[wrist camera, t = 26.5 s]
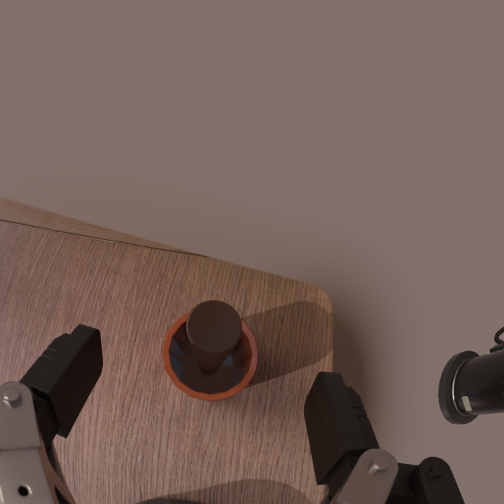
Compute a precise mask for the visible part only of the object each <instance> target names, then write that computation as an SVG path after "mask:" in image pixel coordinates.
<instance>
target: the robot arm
mask: <svg viewBox="0 0 504 504" xmlns="http://www.w3.org/2000/svg"><path fill="white" fill-rule="evenodd" d="M503 332H504V327H503V328H501V329H500V330H499V331H498V332H497V333H496V335H495V338H494V340H495V342H496V343H497V344H498V345H496V346H494V347H493V348H491V349H490V353H488V354H485V355H481V356H478V357H474V358H468V359H465V360H463V361H462V362H461V363H460V364H459V365H458V367H457V368H456V370H455V372H454V375H453V378H452V382H451V390H450V394H451V402H452V405H453V408H454V409H455V411H456V412H457V413H458V414H459V415H461V416H471V415H481V414H493V413H502V412H504V342H503V341H502V340H500V339H499V336H500V335H501V334H502V333H503ZM102 368H103V356H102V347H101V336H100V331H99V330H98V329H95V328H92V327H89V326H85V325H82V324H79V325H78V326H77V327H76V328H75V329H74V331H73V332H72V333H71V334H67V333H65V334H63V335H61V336H59V337H57V338H56V339H54V340H53V342H52V343H51V344H50V345H49V346H48V347H47V349H46V350H45V351H44V352H43V353H42V356H40V357H39V358H38V359H37V360H36V362H35V363H34V364H33V365H32V367H31V368H30V369H29V370H28V371H27V373H26V374H25V375H24V376H23V378H22V379H21V380H20V381H19V382H15V381H11V382H6V383H4V384H2V385H1V386H0V502H1V504H76V502H75V500H74V498H73V496H72V494H71V493H70V491H69V489H68V486H67V484H66V481H65V478H64V475H63V472H62V469H61V466H60V463H59V460H58V457H57V453H56V450H55V446H54V443H53V439H54V437H55V436H56V434H57V435H60V436H62V437H64V438H66V439H67V437H68V435H69V433H70V431H71V429H72V427H73V425H74V423H75V421H76V419H77V417H78V415H79V413H80V412H81V410H82V408H83V406H84V404H85V402H86V400H87V399H88V397H89V395H90V393H91V391H92V390H93V388H94V386H95V384H96V382H97V381H98V379H99V377H100V375H101V372H102ZM304 417H305V422H306V427H307V433H308V438H309V444H310V449H311V454H312V460H313V466H314V471H315V477H316V482H317V485H324V484H328V487H329V491H328V492H327V493H326V495H325V496H324V498H323V499H322V501H321V502H320V503H319V504H465V503H464V501H463V498H462V496H461V493H460V491H459V488H458V486H457V483H456V481H455V478H454V476H453V473H452V471H451V469H450V467H449V465H448V464H447V463H446V462H445V461H444V460H442V459H440V458H437V457H428V458H426V459H424V460H423V461H422V462H421V463H420V464H419V465H410V464H402V463H397V461H396V459H395V458H394V457H393V455H392V454H390V453H389V452H387V451H385V450H382V449H380V448H379V445H378V442H377V440H376V437H375V434H374V432H373V429H372V427H371V424H370V421H369V419H368V418H367V414H366V411H365V409H364V406H363V404H362V401H361V399H360V396H359V395H358V394H357V393H356V392H355V391H354V390H353V389H352V387H346V386H345V383H344V380H343V378H342V375H341V374H340V373H332V372H319V373H318V375H317V377H316V379H315V381H314V383H313V385H312V388H311V390H310V392H309V394H308V396H307V398H306V401H305V405H304Z"/></svg>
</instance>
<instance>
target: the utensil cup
mask: <svg viewBox="0 0 504 504" xmlns="http://www.w3.org/2000/svg"><path fill="white" fill-rule="evenodd" d="M189 314H190V312H189V313H187V314H186V315H184V316H182V317H180V318H179V319H178V320H176V322H175V323H174V324H173V326H172V327H171V328H170V330H169V331H168V332H167V334H166V338H165V342H164V346H163V350H162V354H163V360H164V366H165V370H166V372H167V373H168V375H169V377H170V378H171V380H172V381H173V383H174V384H175V385H176V387H178V388H179V389H181V390H182V391H183V392H185V393H186V394H188V395H189V396H191V397H194V398H198V399H202V400H207V401H215V400H221V399H226V398H230V397H232V396H233V395H235V394H236V393H238V392H239V391H241V390H242V389H244V388H245V387H246V386H247V384H248V383H249V381H250V380H251V378H252V377H253V375H254V374H255V372H256V367H257V361H258V356H259V355H258V349H257V345H256V340H255V337H254V335H253V334H252V332H251V331H250V329H249V328H248V326H247V325H246V324H245V322H244V321H242V320H241V323H242V334H241V337H240V340H239V341H238V343H237V344H236V346H235V347H234V349H233V350H232V351H231V352H230V354H229V355H228V356H227V358H226V359H225V360H224V362H223V363H222V364H221V366H220V367H219V368H218V370H216V371H215V372H213V373H206V372H203V371H202V370H201V369H200V368H199V366H198V363H197V361H196V358H195V356H194V353H193V350H192V347H191V345H190V342H189V339H188V336H187V333H186V321H187V318H188V315H189Z"/></svg>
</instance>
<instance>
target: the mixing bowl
mask: <svg viewBox="0 0 504 504" xmlns="http://www.w3.org/2000/svg"><path fill="white" fill-rule="evenodd" d="M137 504H198V503H195V502H190V501H183V500H177V499H151V500H147V501H144V502H140V503H137Z"/></svg>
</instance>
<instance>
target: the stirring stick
mask: <svg viewBox="0 0 504 504" xmlns="http://www.w3.org/2000/svg"><path fill="white" fill-rule="evenodd" d="M186 333H187V336H188V339H189V342H190V345H191V347H192V350H193V353H194V356H195V358H196V361H197V363H198V366H199V368H200V369H201V370H202V371H203V372H206V373H213V372H215V371H216V370H218V368H219V367H220V366H221V364H222V363H223V362H224V360H225V359H226V358H227V356H228V355H229V354H230V352H231V351H232V350H233V349H234V347H235V346H236V344H237V343H238V341H239V340H240V337H241V334H242V323H241V319H240V317H239V315H238V313H237V312H236V311H235V309H234V308H233V307H231V306H230V305H228V304H227V303H224V302H221V301H217V300H210V301H205V302H202V303H200V304H198V305H197V306H196V307H195V308H193V310H192V311H191V312H190V314H189V315H188V318H187V321H186Z"/></svg>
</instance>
